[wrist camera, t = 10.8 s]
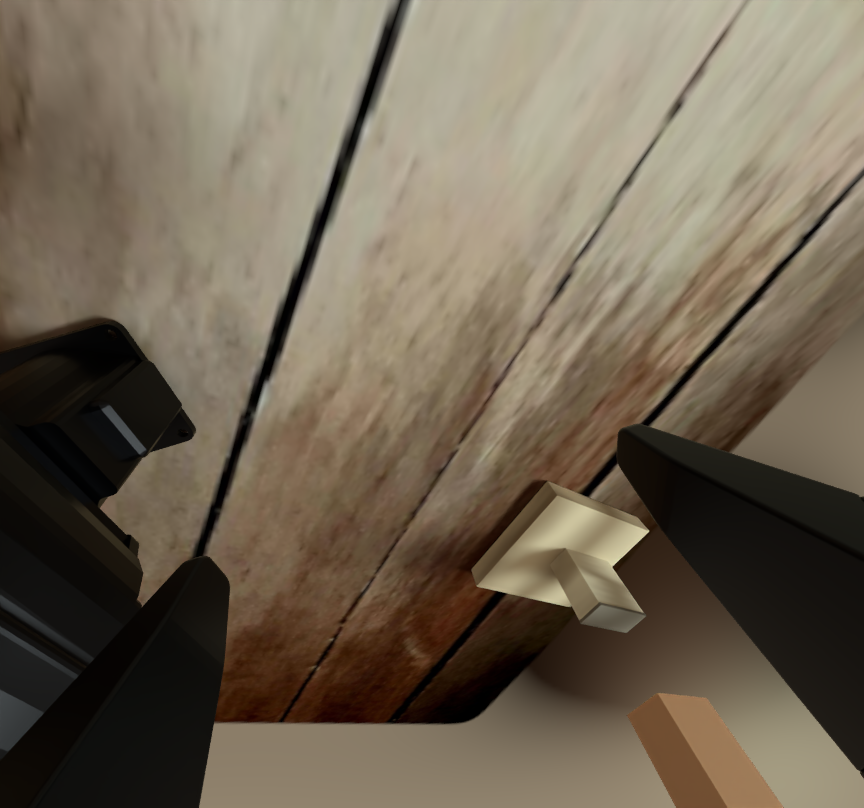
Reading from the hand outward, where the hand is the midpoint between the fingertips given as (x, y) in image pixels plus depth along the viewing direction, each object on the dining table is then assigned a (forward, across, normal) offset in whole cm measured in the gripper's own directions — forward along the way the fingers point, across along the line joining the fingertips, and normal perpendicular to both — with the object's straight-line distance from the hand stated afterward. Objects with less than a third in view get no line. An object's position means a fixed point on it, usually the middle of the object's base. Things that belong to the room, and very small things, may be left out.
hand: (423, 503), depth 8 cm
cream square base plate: (+13, -8, +22) cm, 27 cm away
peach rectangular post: (+2, -10, +23) cm, 25 cm away
